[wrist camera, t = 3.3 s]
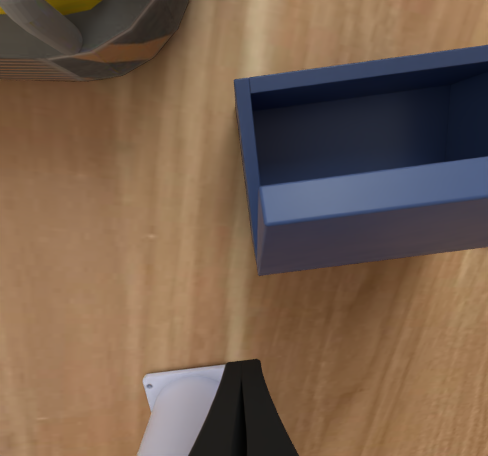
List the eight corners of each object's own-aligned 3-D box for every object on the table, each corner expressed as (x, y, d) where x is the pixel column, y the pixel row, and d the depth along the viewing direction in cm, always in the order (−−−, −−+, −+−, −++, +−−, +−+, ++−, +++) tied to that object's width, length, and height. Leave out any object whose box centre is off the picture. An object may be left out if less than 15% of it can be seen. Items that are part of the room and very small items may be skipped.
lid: (258, 185, 4) (264, 226, 4) (1187, 63, 4) (1242, 100, 4) (256, 263, 14) (258, 276, 13) (522, 229, 14) (527, 241, 13)
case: (235, 104, 17) (233, 79, 12) (453, 74, 16) (547, 36, 11) (252, 238, 19) (256, 266, 14) (442, 214, 19) (517, 233, 14)
